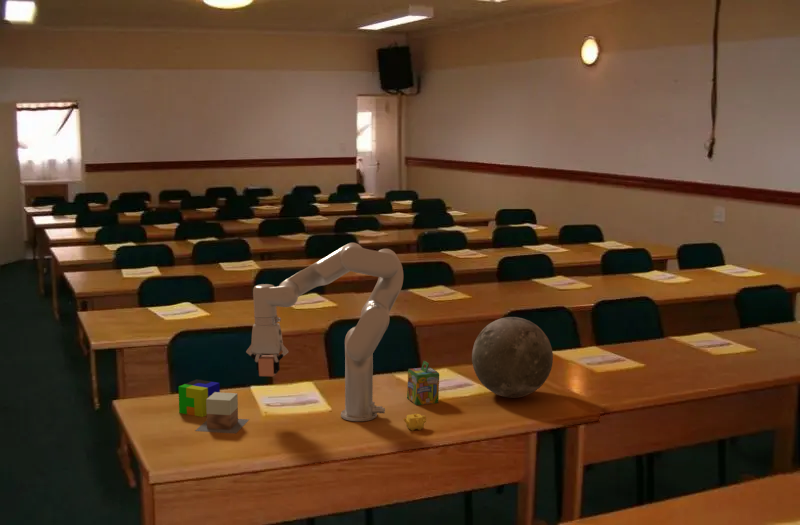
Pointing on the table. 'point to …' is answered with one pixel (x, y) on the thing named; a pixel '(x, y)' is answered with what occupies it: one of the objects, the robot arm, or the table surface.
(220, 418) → the tower base
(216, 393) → the tower top
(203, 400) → the puzzle toy
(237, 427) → the mat
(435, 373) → the chalk box
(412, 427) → the teapot
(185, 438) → the table surface
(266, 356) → the terracotta block
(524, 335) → the globe
